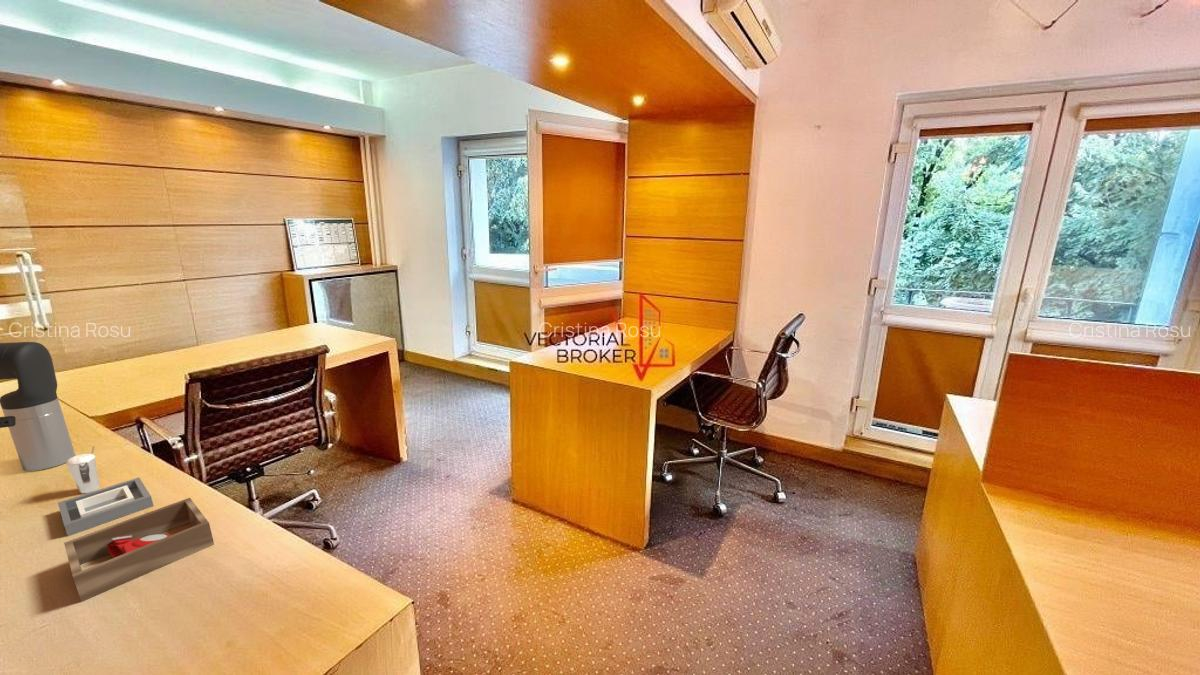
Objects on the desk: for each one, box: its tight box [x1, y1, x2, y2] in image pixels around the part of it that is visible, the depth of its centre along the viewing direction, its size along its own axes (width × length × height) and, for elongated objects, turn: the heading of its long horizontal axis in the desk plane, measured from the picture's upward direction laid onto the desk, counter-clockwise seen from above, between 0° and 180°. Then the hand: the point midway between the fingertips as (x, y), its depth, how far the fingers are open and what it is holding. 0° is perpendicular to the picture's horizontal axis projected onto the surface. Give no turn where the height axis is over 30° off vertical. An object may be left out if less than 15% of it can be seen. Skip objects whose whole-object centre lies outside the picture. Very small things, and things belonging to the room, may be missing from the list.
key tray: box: [63, 497, 215, 602], centre depth 88 cm, size 14×18×5 cm
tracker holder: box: [104, 533, 171, 559], centre depth 87 cm, size 12×4×10 cm
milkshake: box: [66, 445, 101, 495], centre depth 109 cm, size 4×5×10 cm
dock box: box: [57, 477, 154, 537], centre depth 102 cm, size 13×13×2 cm
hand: (6, 419), depth 98 cm, fingers open, 8 cm apart
